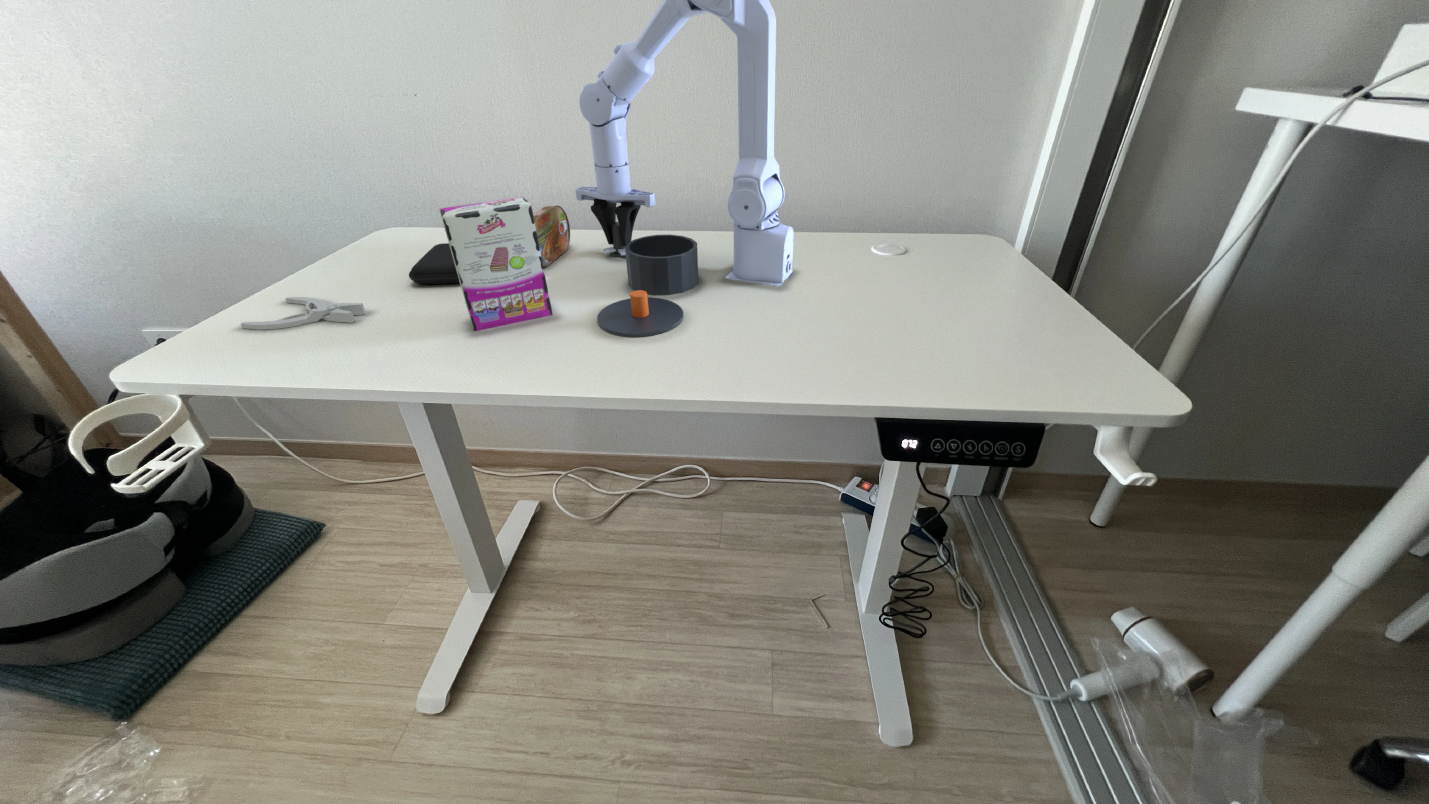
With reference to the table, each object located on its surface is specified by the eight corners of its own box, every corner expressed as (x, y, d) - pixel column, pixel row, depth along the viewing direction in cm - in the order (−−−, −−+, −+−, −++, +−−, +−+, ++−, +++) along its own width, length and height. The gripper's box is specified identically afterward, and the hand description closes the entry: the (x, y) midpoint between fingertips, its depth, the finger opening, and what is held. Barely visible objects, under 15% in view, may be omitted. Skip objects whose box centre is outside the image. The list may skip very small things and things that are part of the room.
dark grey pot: (708, 276, 98) (707, 238, 94) (681, 302, 89) (679, 261, 86) (648, 268, 102) (645, 231, 98) (616, 293, 93) (612, 253, 89)
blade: (640, 253, 108) (637, 220, 105) (626, 263, 104) (623, 229, 101) (615, 250, 110) (612, 218, 106) (601, 259, 106) (597, 226, 102)
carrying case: (474, 285, 96) (496, 255, 108) (469, 268, 94) (492, 239, 107) (407, 288, 96) (437, 257, 108) (402, 270, 94) (433, 240, 106)
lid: (696, 310, 87) (695, 283, 85) (660, 347, 78) (658, 317, 75) (624, 299, 91) (621, 272, 88) (581, 332, 81) (577, 304, 79)
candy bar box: (545, 306, 89) (524, 195, 80) (554, 318, 85) (533, 203, 76) (468, 321, 85) (437, 206, 76) (474, 335, 81) (442, 215, 72)
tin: (539, 273, 100) (530, 224, 96) (522, 272, 101) (512, 223, 96) (574, 245, 113) (567, 200, 108) (558, 244, 113) (551, 199, 109)
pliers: (286, 291, 91) (376, 294, 90) (290, 300, 92) (379, 303, 91) (236, 318, 83) (334, 322, 81) (241, 328, 84) (338, 332, 82)
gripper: (660, 161, 99) (665, 241, 106) (586, 156, 103) (596, 233, 111) (641, 170, 93) (648, 253, 101) (564, 164, 98) (576, 244, 105)
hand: (619, 243), depth 106 cm, fingers closed on blade, 2 cm apart
